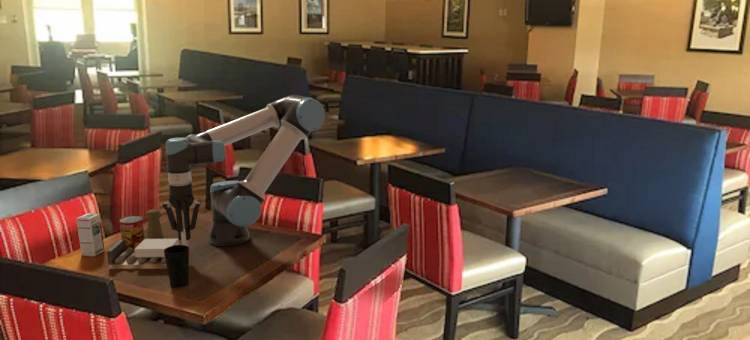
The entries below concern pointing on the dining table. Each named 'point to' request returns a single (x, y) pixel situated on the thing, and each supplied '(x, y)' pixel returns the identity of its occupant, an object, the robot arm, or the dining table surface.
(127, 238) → the canned food
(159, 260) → the roller bed
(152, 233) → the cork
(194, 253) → the dining table surface
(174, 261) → the cup
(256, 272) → the dining table surface
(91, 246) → the syrup box
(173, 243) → the slab
